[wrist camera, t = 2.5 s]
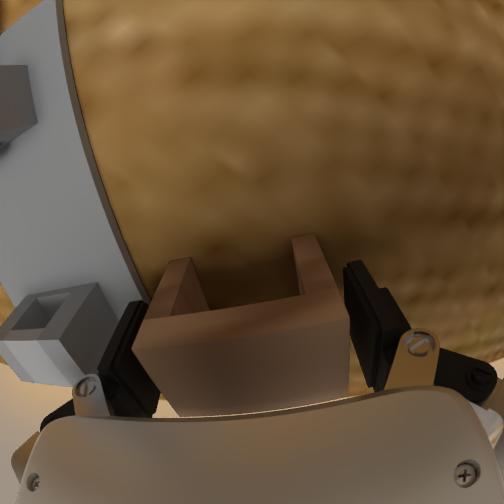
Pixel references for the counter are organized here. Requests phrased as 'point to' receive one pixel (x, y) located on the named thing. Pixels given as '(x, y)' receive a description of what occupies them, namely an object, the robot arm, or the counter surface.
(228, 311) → the block
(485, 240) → the counter surface
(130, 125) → the counter surface
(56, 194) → the bearing block
